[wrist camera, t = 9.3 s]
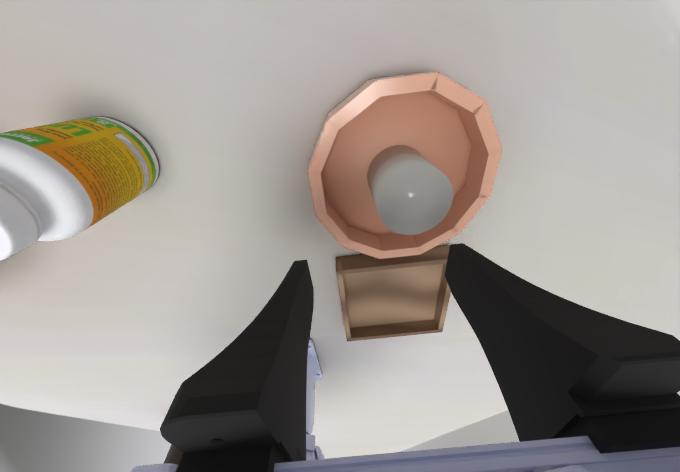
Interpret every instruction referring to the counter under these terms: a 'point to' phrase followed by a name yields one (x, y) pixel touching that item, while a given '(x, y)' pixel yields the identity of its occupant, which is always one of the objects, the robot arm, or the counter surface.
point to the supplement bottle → (68, 178)
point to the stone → (408, 190)
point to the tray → (393, 294)
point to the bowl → (411, 130)
